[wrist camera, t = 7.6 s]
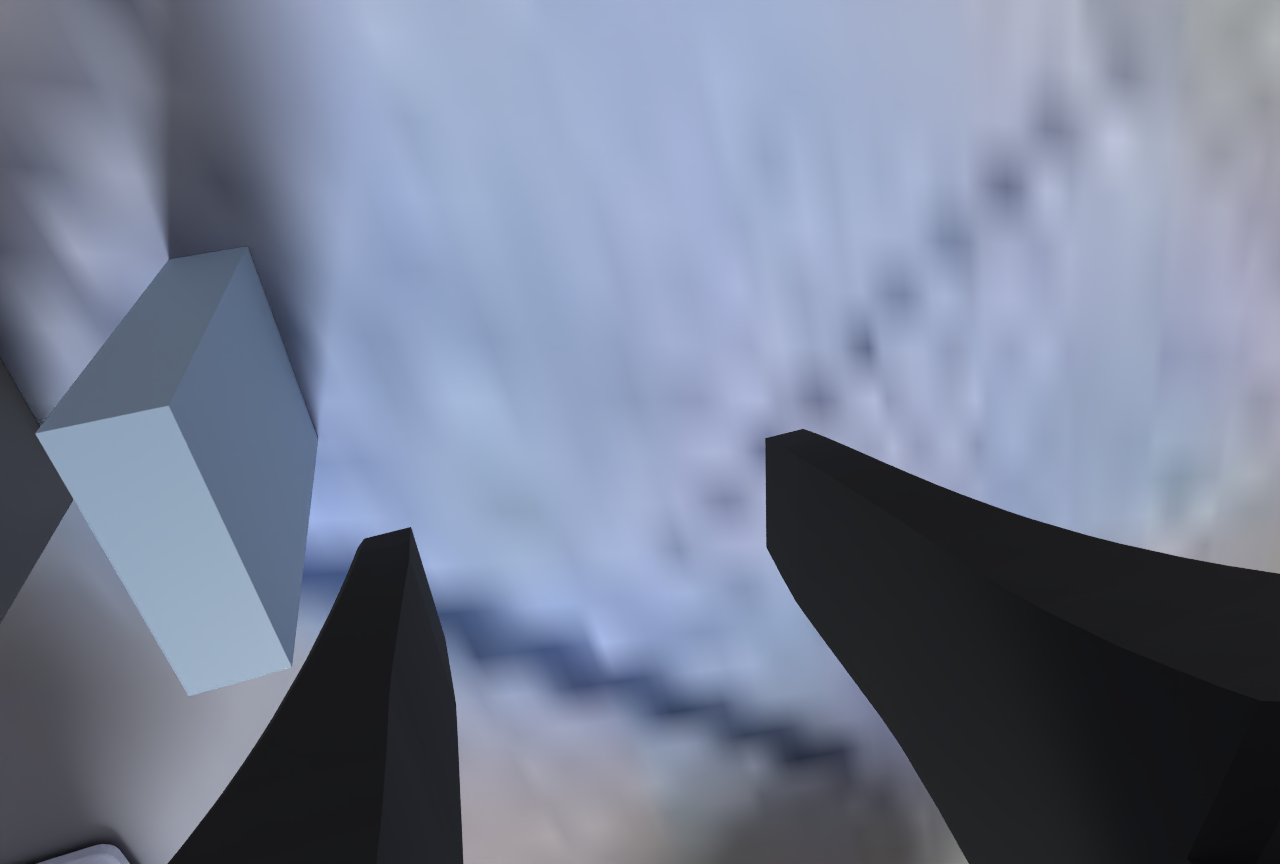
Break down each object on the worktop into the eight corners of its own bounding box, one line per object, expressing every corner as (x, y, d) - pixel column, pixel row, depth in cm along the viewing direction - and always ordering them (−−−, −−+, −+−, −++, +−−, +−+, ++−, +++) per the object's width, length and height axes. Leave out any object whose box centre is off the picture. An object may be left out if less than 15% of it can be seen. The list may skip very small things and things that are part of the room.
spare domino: (318, 439, 20) (292, 667, 13) (251, 454, 19) (188, 696, 13) (247, 245, 17) (168, 405, 10) (169, 259, 17) (35, 433, 10)
